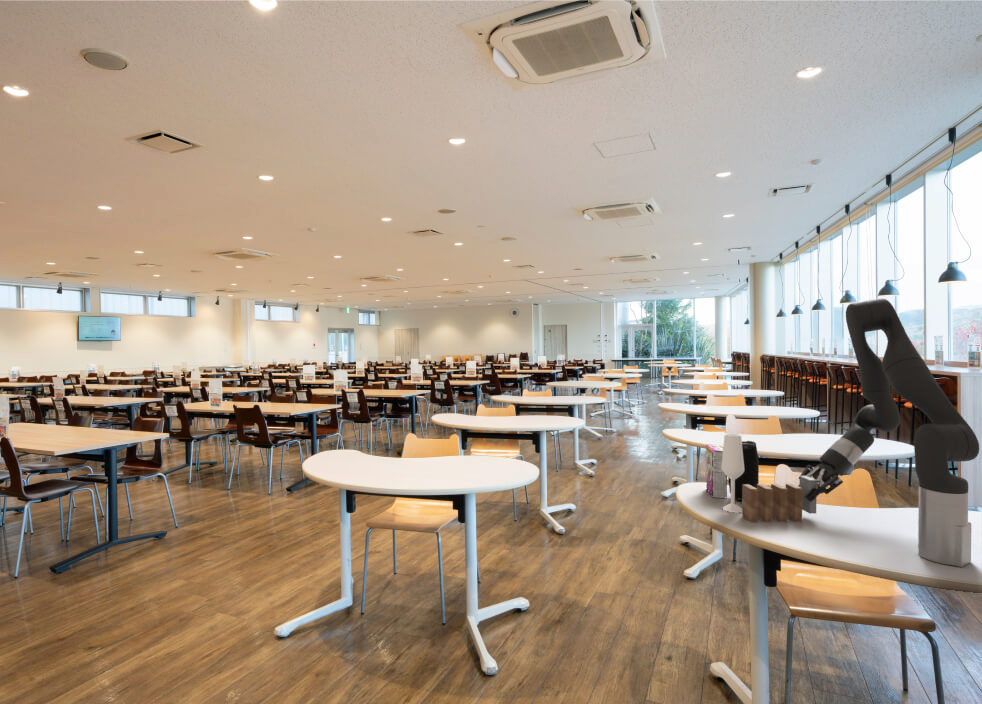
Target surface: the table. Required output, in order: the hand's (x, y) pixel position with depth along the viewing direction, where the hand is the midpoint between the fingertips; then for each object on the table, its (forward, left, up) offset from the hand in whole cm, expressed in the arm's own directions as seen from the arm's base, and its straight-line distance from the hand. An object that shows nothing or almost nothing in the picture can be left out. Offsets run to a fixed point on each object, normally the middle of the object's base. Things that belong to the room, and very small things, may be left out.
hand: (801, 496), depth 158 cm
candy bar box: (+30, -1, -7) cm, 31 cm away
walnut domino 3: (+3, +6, -7) cm, 10 cm away
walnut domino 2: (+6, +10, -7) cm, 13 cm away
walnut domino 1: (+8, +14, -7) cm, 17 cm away
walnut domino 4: (+1, +2, -7) cm, 7 cm away
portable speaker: (+21, -3, -7) cm, 22 cm away
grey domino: (-1, -2, -4) cm, 5 cm away
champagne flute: (+16, +10, -7) cm, 20 cm away
